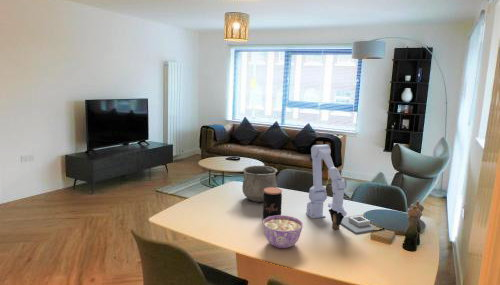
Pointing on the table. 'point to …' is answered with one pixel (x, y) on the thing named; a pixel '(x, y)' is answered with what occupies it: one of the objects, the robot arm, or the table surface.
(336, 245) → the table surface
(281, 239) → the bowl of food
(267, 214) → the coffee jar
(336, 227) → the walnut peg
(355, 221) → the grey flat piece
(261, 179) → the pot
